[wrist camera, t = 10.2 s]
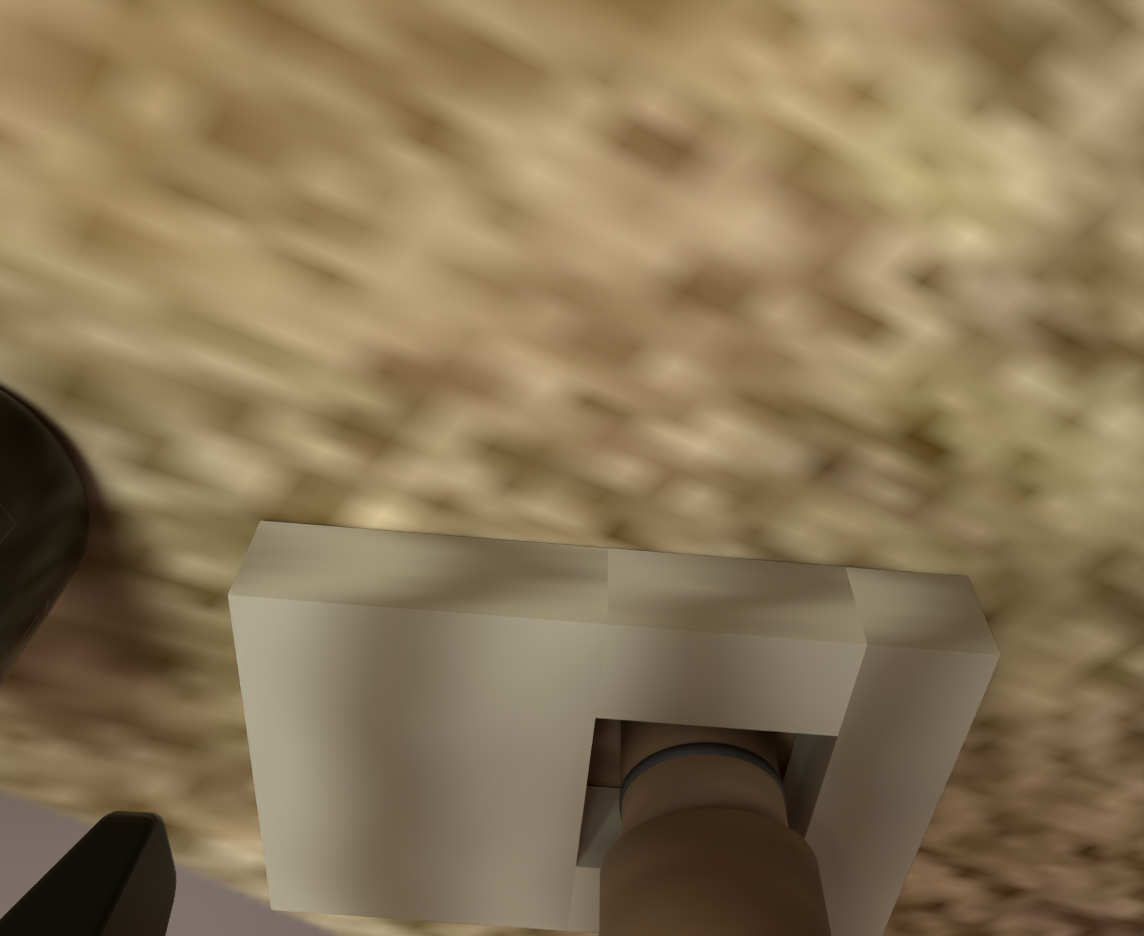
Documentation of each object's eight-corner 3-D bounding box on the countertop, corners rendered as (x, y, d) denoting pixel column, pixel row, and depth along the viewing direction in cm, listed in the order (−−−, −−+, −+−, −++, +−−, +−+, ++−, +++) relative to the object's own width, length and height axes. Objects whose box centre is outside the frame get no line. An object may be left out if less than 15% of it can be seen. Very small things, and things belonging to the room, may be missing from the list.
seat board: (967, 576, 24) (1001, 654, 22) (856, 870, 31) (874, 953, 28) (260, 520, 24) (227, 594, 22) (294, 829, 30) (271, 909, 28)
